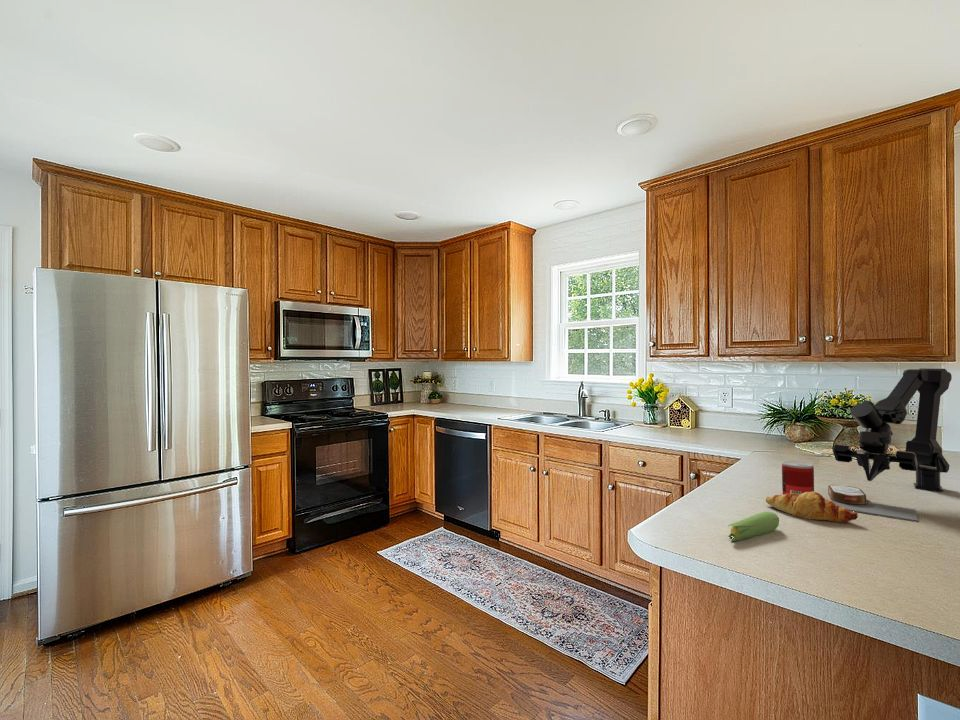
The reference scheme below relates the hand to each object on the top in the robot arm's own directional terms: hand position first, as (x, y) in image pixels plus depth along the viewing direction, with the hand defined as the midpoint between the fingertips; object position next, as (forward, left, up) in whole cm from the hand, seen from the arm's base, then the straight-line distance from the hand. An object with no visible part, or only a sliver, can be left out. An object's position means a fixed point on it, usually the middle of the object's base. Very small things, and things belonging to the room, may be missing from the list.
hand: (869, 480), depth 131 cm
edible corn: (+47, -22, -8) cm, 53 cm away
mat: (+5, +1, -7) cm, 9 cm away
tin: (-3, -1, -5) cm, 6 cm away
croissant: (+21, -13, -8) cm, 26 cm away
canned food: (+7, -16, -7) cm, 19 cm away
